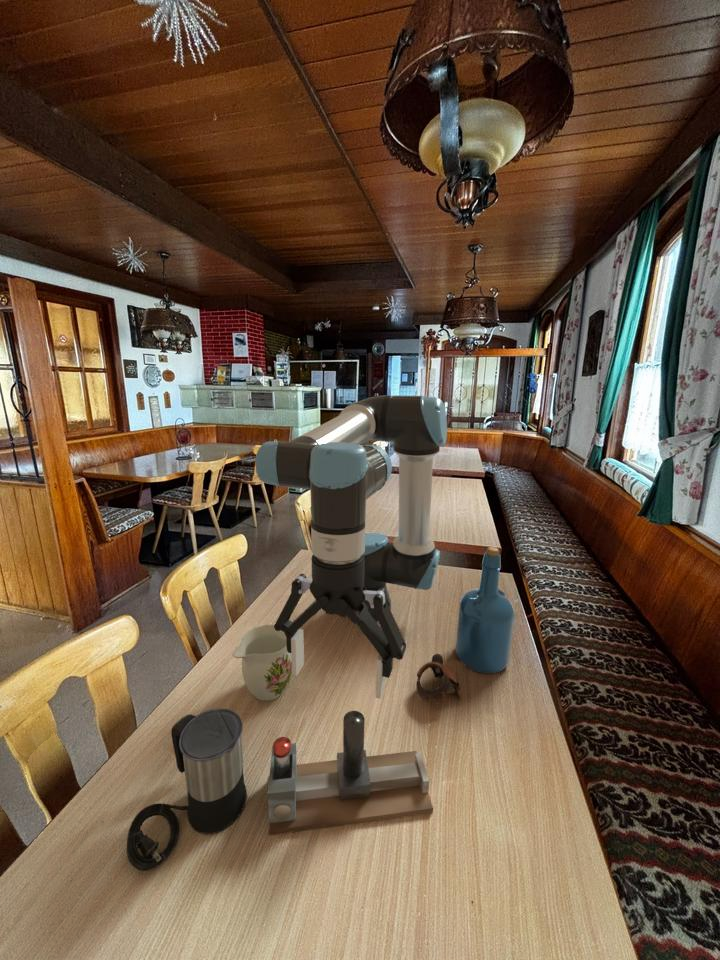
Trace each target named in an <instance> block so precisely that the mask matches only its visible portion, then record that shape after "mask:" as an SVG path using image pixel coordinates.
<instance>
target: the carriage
mask: <svg viewBox="0 0 720 960" xmlns="http://www.w3.org/2000/svg"><path fill="white" fill-rule="evenodd" d="M342 719H343V723H342V725H343V731H342V732H343V733H342V734H343V735H342V736H343V737H342V738H343V740H342V745H343V746H342V749H343V750H342V752H337V753H336V760H337V772H338V779H339V801H341V800H349V799H357V798H364V797H370V792H371V782H370V776H369V769H368V763H367V757H368V756H367V750H366V749H365V720H366V719H365V716H364V714H363V713H362V712H360V711H358V710H349V711H348V712H346V713H345V715H344V717H343V718H342Z"/></svg>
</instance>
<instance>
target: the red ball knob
mask: <svg viewBox="0 0 720 960" xmlns="http://www.w3.org/2000/svg"><path fill="white" fill-rule="evenodd" d="M291 744H292V743H291V740H290V739H289V738H288V737H287V736H280V737H278V738H276V739H274V741H273V744H272V746H273V754H274V755H275V761H276V773H277V774H278V775H279V776H284V775H286V774H287V773H288V772H289V770H290V761H289V753H290V751H291Z"/></svg>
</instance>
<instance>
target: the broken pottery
mask: <svg viewBox="0 0 720 960" xmlns="http://www.w3.org/2000/svg"><path fill="white" fill-rule="evenodd" d="M428 669H430V670H431V671H432V672H433V675H434V678H440V679H441V678H443V680H442V682H441V684H440V685H439V686H438V687H437V688H435V689H431V690H428V689H426V688H425V687H423V686H422V683H421V678H422V675H423V674H424V673H425V672H426V671H427V670H428ZM416 677H417V680H416V686H415V687H416V692H417V695H418V696H419V697H420V698H421V699H423V700H424V701H426V702H440V703H443V704H444V703H445V700H444V699H445V698H444V693H445V694H454V692H455V691H456V690H455V688H456V689H457V696H458V700H460V701H461V700H462V691H461V685H460V681H459V678H458V677H457V675H456V674H455V672H454V671H453V670H452V669H451V667H450V668H449V666H447V665H445V664H444V659H443V656H442V655H441V653H440V654H439V653H435V654H434V655H432V657H431V661H429V662H426V663H425V664H423V665H422V666H421V667H420V668H419V669H418V671H417V672H416ZM454 687H455V688H454Z"/></svg>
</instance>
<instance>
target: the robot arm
mask: <svg viewBox="0 0 720 960" xmlns="http://www.w3.org/2000/svg"><path fill="white" fill-rule="evenodd" d="M447 423H448V421H447V412H446V407H445V404H444V402H443V401H442V399H441V398H439V397H434V396H425V395H388V394H383V395H376V396H371V397H368V398H364V399H361V400H359V401H356V402H353V403H352V404H351V403H350V404H349V405H347V406H345V408H343V409H342V410H341V411H340V413H339V414H338V416H335V417H334V418H332V419H330V420H329V421H327V422H324V423H322V424H320V425H318V426H316V427H315V428H313V429H311V430H309V431H308V432H305V433H303V434H302V435H300V436H297V437H296V438H294V439H292V440H290V441H280V440H276V441H266V442H264V443H263V444H261V446H260V447H259V448H258V450H257V451H256V454H255V459H254V466H255V473H256V476H257V477H258V479H259V480H260V481H261V482H262V483H264V484H268V485H273V486H277V487H279V488H282V487H283V488H284V487H285V488H294V489H303V490H310V513H311V514H310V515H311V520H310V528H311V529H310V530H311V531H310V532H311V533H310V534H311V535H310V536H311V537H310V538H311V539H310V540H311V541H310V542H311V545H310V547H311V554H312V556H311V579H310V578H307V576H306V574H305V573H300V574H299V575H298V576H297V577H296V578H295V579H294V580H293V581H292V582H291V591H290V595H289V597H288V598H287V600H286V603H284V604H285V605H284V606H283V607H282V610H281V612H280V614H279V615H278V617H277V620H276V622H275V624H273V625H274V628H275V630H276V631H280V630H281V631H283V632H284V633H285V635H286V642H287V651H288V653H291V656H292V674H291V676H295V677H297V676H298V675H299V673H300V672H301V670H302V668H303V667H304V665H305V647H304V645H305V642H304V641H305V640H304V636H305V635H304V629H302V627H303V626H304V625H305V624H306V623H307V622H308V621H309V620H310V619H312V618H313V616H315V615H317V613H318V612H319V611H321V610H323V611H324V612H325V614H327V615H330V616H331V615H332V616H333V615H336V616H339V618H340V617H341V618H344V619H345V618H347V617H348V618H349V619H350V621H351V622H352V623H353V624H354V625H357V626H358V628H359V629H360V630H361V632H362V633H363V634H364V636H365V637H366V639H367V640H368V641H369V643H370V644H371V645H372V646H373V648H374V649H375V651H376V652H377V653H378V655H377V658H376V670H375V671H376V673H375V696H374V697H375V698H376V699H378V700H381V698H382V696H383V693H384V691H385V688H386V678H387V679H389V678H390V676H391V674H392V672H393V668H394V667H393V664H394V663H393V662H394V659H396V660H399V661H400V660H403V658H404V655H405V651H406V649H407V644H406V642H405V639H404V637H403V635H402V632H401V630H400V628H399V626H398V623H397V622H396V620H395V617H394V616H393V615H394V614H393V612H392V610H391V609H392V599H391V596H390V594H389V593H390V592H389V590H388V587H387V584H390V585H396V586H401V587H405V588H412V589H414V590H424V591H425V590H426V591H427V590H430V589H432V587H433V585H434V584H433V583H434V581H435V578H436V574H437V569H438V566H439V560H440V556H441V551H440V550H438V549H437V548H435V547H436V546H435V542H434V540H433V539H432V538H431V537H430V532H431V531H430V530H431V512H432V511H431V510H432V509H431V508H432V507H431V506H432V492H433V491H432V490H433V488H432V487H433V486H432V485H433V463H434V457H436V455H437V454H439V453H440V447H442V446H445V445H446V442H447V439H448V438H447V437H448V433H447V431H448V424H447ZM368 441H375V442H386V443H393V452H394V453H395V455H397V456H398V459H399V460H398V461H399V462H398V463H399V464H398V467H399V468H398V528H397V529H398V532H397V533H398V536H397V537H394V539H393V540H392V542H389V538H388V536H387V535H385V534H383V533H379V532H367V533H366V514H367V513H366V510H367V509H366V508H367V500H368V499H369V498H371V496H373V495H374V494H375V493H377V492H378V491H380V490H381V489H382V488H383V487H385V485H386V484H387V482H388V480H389V479H390V477H391V475H392V470H393V467H392V465H393V464H392V461H391V458H390V456H389V454H388V453H387V452H386V451H385V450H384V449H383V448H382V447H380V446H378V445H373V444H365V443H367V442H368ZM361 444H363V445H361ZM308 590H309V591H310V594H311V595H312V597H313V598H314V599H315V600H314V601H313V602H312V603H311V604H309V606H307V608H306V609H304V610H303V612H302V613H301V614H300V615H298V616H297V617H296V618H295V619H294V620H293V621H291V620H290V618H291V617H292V615H293V613H294V611H295V609H296V607H297V606H298V603H299V601H300V600H301V598H302V596H303V594H306V592H307V591H308ZM377 622H378V623H379V624H378V623H377ZM297 630H298V631H297Z"/></svg>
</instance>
